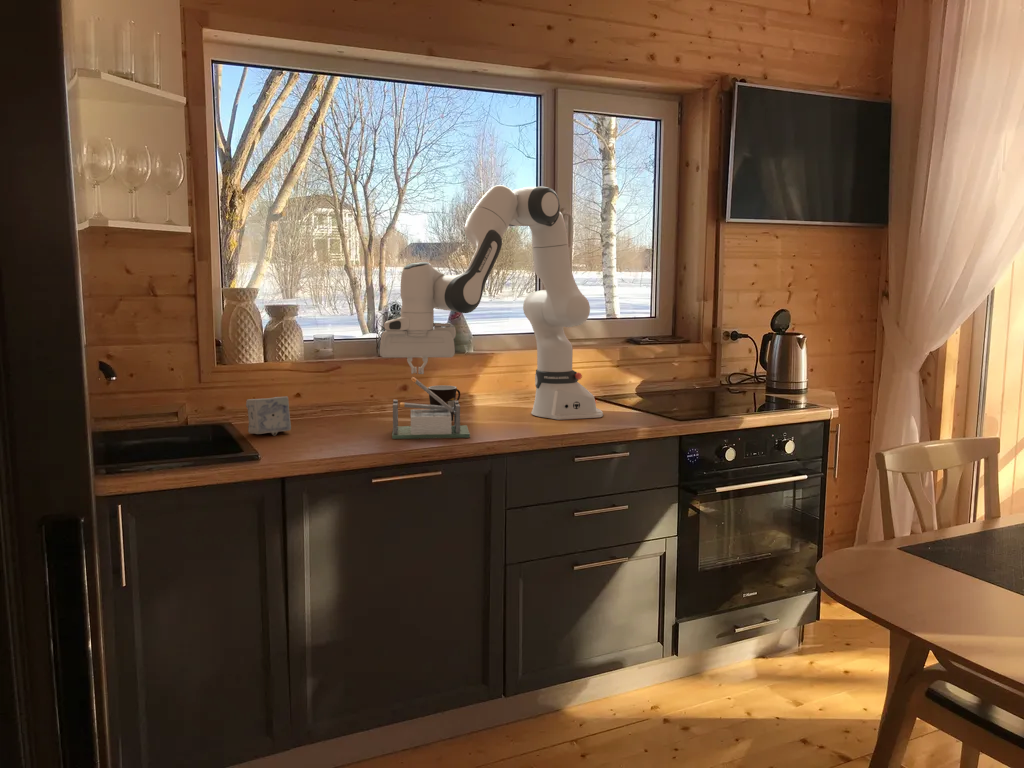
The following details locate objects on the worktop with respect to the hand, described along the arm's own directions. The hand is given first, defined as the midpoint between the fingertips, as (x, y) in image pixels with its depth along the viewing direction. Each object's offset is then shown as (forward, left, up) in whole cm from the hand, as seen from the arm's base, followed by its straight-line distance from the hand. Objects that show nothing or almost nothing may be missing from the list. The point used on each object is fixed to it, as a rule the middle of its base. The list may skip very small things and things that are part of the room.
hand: (417, 373), depth 221 cm
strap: (-4, 0, -6) cm, 7 cm away
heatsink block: (-4, -3, -17) cm, 18 cm away
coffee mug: (-9, -23, -18) cm, 30 cm away
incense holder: (+41, -7, -18) cm, 45 cm away
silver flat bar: (-2, -6, -10) cm, 12 cm away
